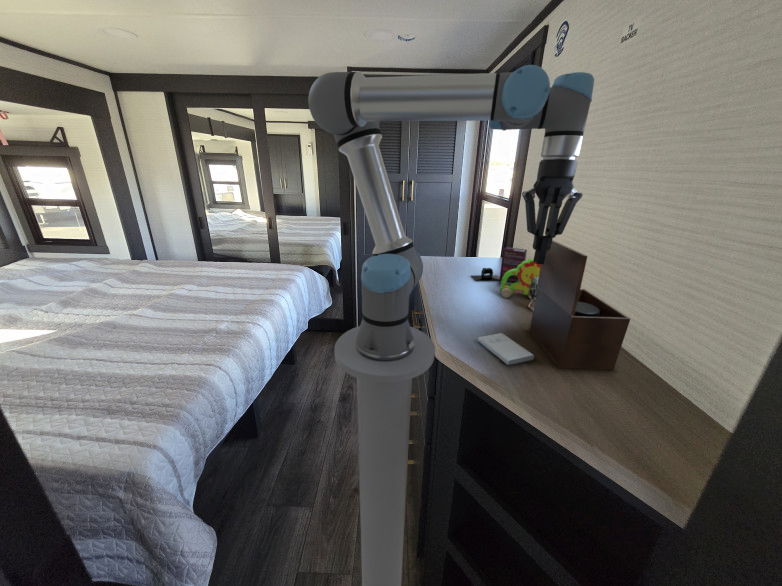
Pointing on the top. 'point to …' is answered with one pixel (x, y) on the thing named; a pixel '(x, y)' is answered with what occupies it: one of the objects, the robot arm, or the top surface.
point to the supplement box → (511, 263)
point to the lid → (562, 275)
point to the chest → (579, 333)
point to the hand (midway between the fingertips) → (538, 262)
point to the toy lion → (520, 279)
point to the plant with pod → (533, 291)
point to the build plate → (486, 276)
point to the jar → (586, 310)
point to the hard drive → (506, 349)
